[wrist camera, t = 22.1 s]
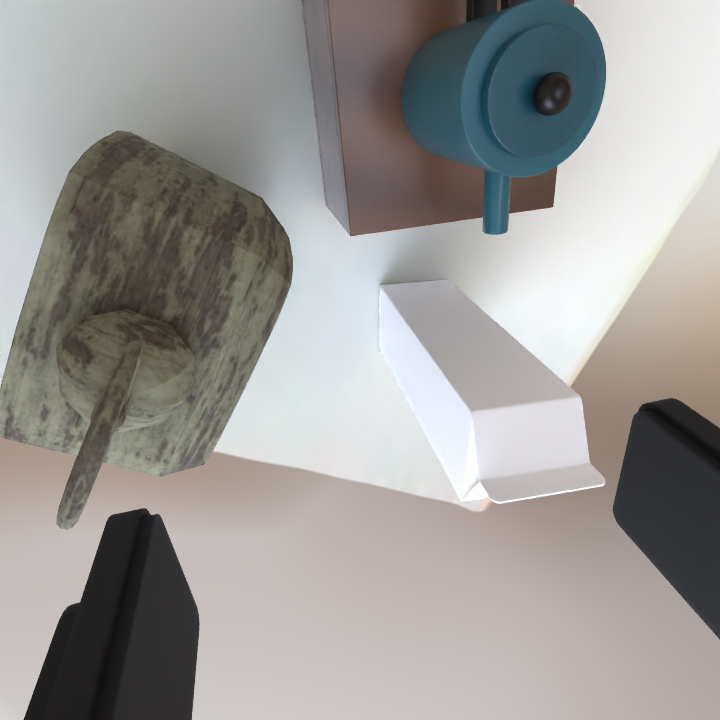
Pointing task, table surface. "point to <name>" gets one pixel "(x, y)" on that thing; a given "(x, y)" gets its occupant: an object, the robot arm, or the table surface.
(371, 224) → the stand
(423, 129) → the kettle
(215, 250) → the green bell
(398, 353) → the milk
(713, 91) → the table surface
